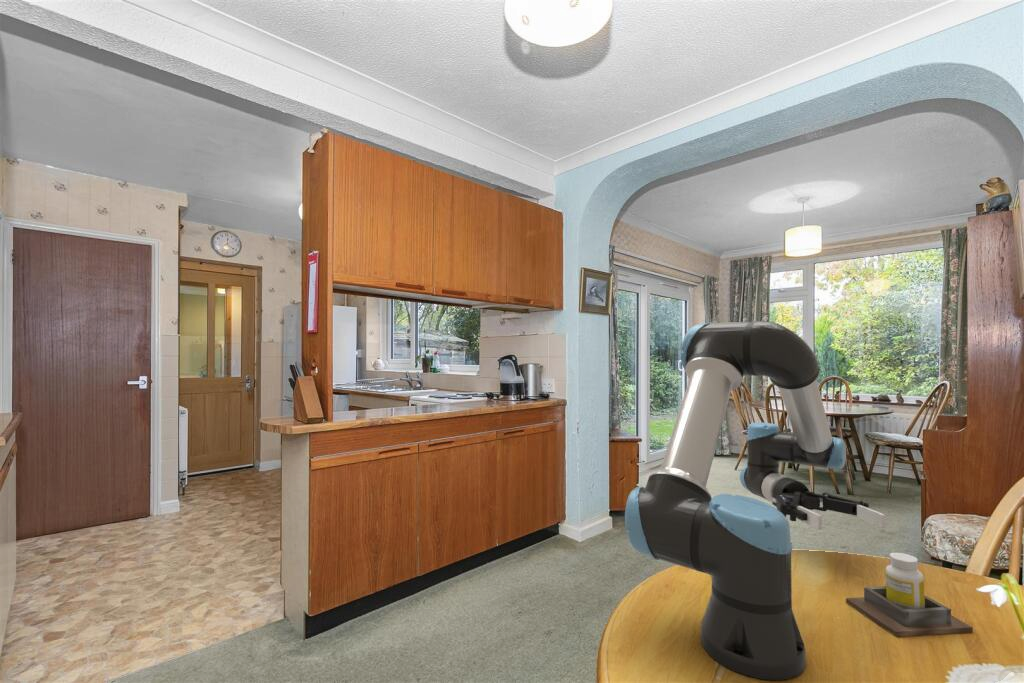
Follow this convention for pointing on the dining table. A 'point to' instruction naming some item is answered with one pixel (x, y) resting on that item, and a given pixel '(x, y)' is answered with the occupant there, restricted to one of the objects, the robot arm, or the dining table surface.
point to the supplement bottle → (905, 582)
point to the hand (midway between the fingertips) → (852, 522)
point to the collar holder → (907, 615)
